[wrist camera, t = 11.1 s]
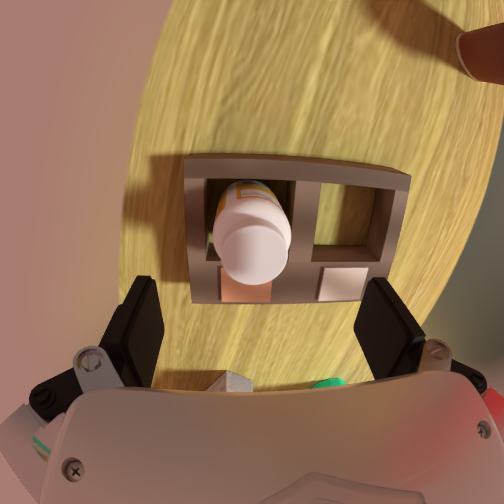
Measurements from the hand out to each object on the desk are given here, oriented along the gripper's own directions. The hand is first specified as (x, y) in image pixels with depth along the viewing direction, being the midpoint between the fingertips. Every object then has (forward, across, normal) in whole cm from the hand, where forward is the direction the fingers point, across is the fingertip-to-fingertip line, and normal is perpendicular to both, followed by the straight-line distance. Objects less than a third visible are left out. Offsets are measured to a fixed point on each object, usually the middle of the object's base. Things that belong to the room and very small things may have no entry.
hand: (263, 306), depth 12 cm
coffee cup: (+16, -25, -21) cm, 36 cm away
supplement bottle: (+15, 0, +1) cm, 15 cm away
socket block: (+15, -4, +2) cm, 15 cm away
